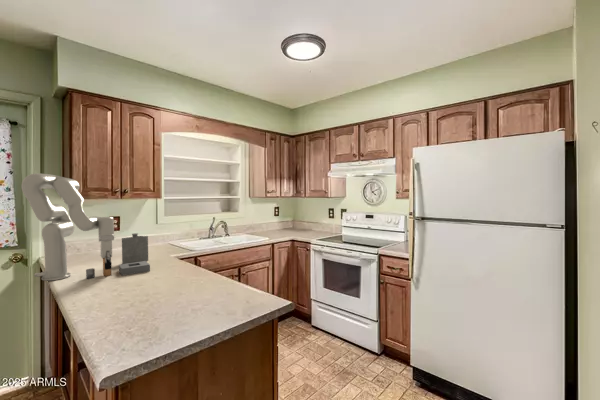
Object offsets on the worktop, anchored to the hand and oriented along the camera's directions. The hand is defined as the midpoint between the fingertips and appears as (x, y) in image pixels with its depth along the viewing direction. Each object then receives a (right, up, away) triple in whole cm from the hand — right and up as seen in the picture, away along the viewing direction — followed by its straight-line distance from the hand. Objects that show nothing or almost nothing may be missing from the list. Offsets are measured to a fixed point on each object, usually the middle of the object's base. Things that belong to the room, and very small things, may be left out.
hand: (107, 267), depth 170 cm
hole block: (+11, -4, +9) cm, 15 cm away
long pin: (0, -5, 0) cm, 5 cm away
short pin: (-6, -5, -5) cm, 9 cm away
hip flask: (-1, -4, +32) cm, 32 cm away
